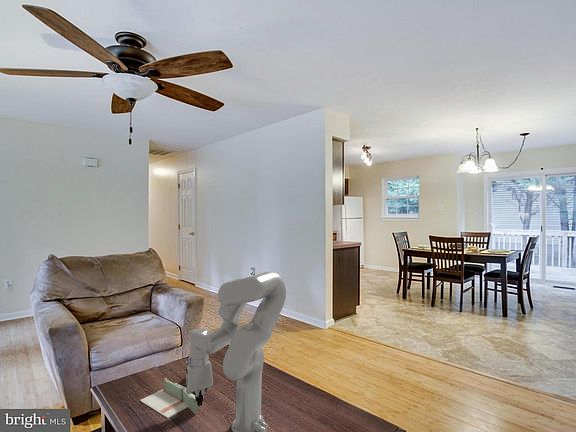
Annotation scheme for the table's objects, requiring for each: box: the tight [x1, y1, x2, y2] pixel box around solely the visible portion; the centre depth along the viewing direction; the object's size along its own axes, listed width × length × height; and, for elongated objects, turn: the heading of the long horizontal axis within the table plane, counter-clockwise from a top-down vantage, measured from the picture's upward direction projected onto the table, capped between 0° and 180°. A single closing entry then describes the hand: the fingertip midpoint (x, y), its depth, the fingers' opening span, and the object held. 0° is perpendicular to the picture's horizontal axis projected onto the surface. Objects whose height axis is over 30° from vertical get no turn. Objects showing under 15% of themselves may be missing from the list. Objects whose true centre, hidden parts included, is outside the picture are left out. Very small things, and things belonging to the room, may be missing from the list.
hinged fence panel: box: [182, 388, 198, 415], centre depth 136 cm, size 13×2×4 cm, turn 40°
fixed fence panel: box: [162, 377, 183, 400], centre depth 145 cm, size 13×2×5 cm, turn 54°
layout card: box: [139, 382, 205, 419], centre depth 142 cm, size 20×18×1 cm
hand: (199, 404), depth 135 cm, fingers closed
